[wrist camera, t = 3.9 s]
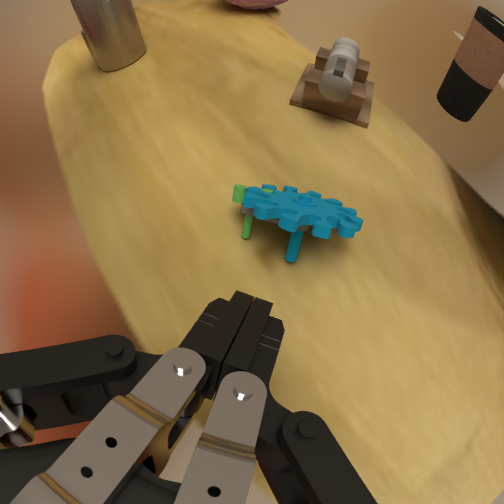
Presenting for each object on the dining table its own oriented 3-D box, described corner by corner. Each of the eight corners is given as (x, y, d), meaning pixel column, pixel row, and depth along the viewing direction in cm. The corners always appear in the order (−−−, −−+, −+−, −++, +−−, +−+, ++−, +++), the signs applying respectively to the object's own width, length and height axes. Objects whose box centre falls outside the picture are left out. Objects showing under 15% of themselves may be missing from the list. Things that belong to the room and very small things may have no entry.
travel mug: (430, 85, 34) (470, -1, 15) (464, 101, 33) (507, 24, 14) (440, 113, 32) (492, 18, 13) (476, 129, 31) (531, 48, 12)
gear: (366, 201, 25) (364, 233, 17) (348, 256, 28) (336, 309, 19) (259, 171, 28) (208, 186, 20) (250, 223, 31) (201, 259, 22)
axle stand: (365, 136, 30) (385, 87, 22) (286, 111, 31) (290, 58, 23) (372, 86, 33) (386, 44, 25) (307, 66, 34) (312, 22, 27)
